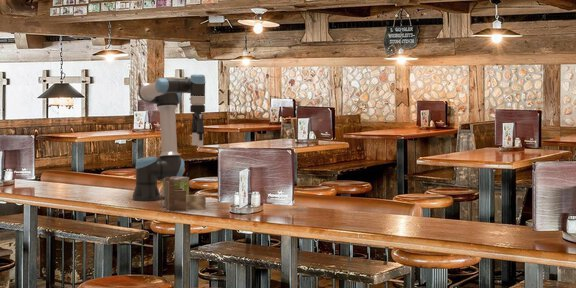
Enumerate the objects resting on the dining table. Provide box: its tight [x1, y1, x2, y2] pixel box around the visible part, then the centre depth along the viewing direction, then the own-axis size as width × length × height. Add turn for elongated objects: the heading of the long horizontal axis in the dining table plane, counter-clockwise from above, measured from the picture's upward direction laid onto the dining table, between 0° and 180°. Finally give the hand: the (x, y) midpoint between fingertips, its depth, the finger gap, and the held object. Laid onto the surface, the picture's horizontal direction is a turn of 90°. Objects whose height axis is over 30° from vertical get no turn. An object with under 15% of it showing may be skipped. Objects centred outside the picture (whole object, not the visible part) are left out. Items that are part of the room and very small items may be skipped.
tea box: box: [161, 176, 190, 207], centre depth 466 cm, size 15×10×15 cm
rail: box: [186, 193, 207, 211], centre depth 452 cm, size 16×5×7 cm, turn 108°
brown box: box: [164, 177, 187, 212], centre depth 450 cm, size 14×8×16 cm, turn 18°
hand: (197, 146), depth 456 cm, fingers open, 13 cm apart
